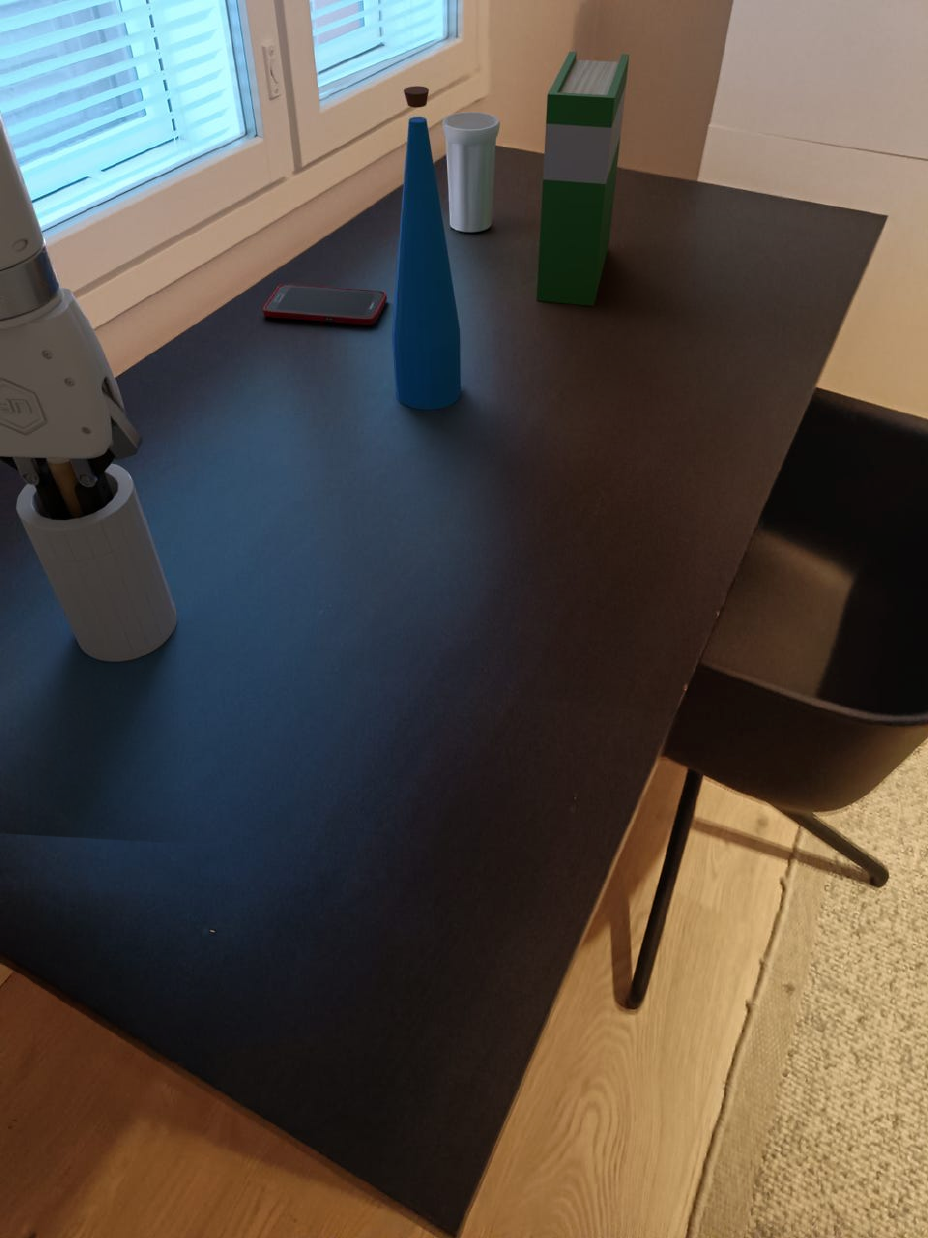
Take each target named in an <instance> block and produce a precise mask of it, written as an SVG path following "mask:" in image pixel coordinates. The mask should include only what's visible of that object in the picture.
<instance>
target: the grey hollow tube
mask: <svg viewBox="0 0 928 1238" xmlns="http://www.w3.org/2000/svg"><path fill="white" fill-rule="evenodd" d="M105 474H106V477H107V480H108V483H109V485H110V488H111V491H112V494H113V496H114V499H113V500H112V501H111V502H110V503H109V504H108V505H106V506H105V507H104V508H102V509H101V510H99V511H97V512H95V513H93V514H90V515H87V516H85V517H82V518H77V519H71V520H52V519H51V518H50V515H49V513H48V512H47V511H46V510H45V508H44V506H43V504H42V501H41V499H40V497H39V495H38V492H37V490H36V488H35V485H30V484H27V483H26V484H25V486H24V487H23V489H22V490H21V491H20V493H19V495H18V496H17V498H16V505H15V510H16V512H17V514H18V517H19V519H20V521H21V523H22V525H23V528H24V530H25V532H26V534H27V536H28V538H29V541H30V543H31V545H32V547H33V549H34V552H35V553H36V555H37V558H38V560H39V562H40V564H41V567H42V569H43V571H44V573H45V575H46V578H47V579H48V581H49V584H50V586H51V588H52V591H53V592H54V594H55V597H56V599H57V600H58V603H59V605H60V608H61V609H62V611H63V613H64V616H65V618H66V620H67V622H68V624H69V626H70V629H71V631H72V633H73V635H74V637H75V640H76V641H77V644H78V646H79V647H80V649H81V650H82V651H83V652H84V653H85V654H86V655H87V656H89V657H91V658H93V659H95V660H98V661H103V662H111V663H116V662H117V663H119V662H126V661H127V662H128V661H131V660H135V659H139V658H141V657H144V656H146V655H148V654H150V653H152V652H153V651H156V650H157V649H158V648H160V647H162V645H163V644H164V643H166V641H167V640H169V638H170V637H171V636H172V634H173V633H174V631H175V629H176V626H177V622H178V613H177V609H176V605H175V601H174V598H173V595H172V593H171V590H170V587H169V584H168V581H167V578H166V575H165V572H164V569H163V566H162V562H161V560H160V557H159V554H158V551H157V548H156V545H155V542H154V540H153V539H154V538H153V536H152V533H151V530H150V528H149V523H148V522H147V518H146V515H145V513H144V509H143V506H142V504H141V500H140V497H139V494H138V491H137V489H136V486H135V483H134V479H133V478H132V477H131V474H130V473H129V472H128V470H126V469H124V468H123V467H122V466H120V465H118V464H115V463H113V462H112V463H111V465H110V466H109V467H108V468H107V469H106V471H105Z"/></svg>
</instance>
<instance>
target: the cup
mask: <svg viewBox="0 0 928 1238" xmlns="http://www.w3.org/2000/svg"><path fill="white" fill-rule="evenodd" d="M440 125H441V132H442V134H443V138H444V139H445V152H446V153H445V154H446V165H447V166H446V168H447V186H448V187H447V189H448V190H447V191H448V210H449V213H448V214H449V225H450V228H451V229H454V230H455V231H457V232H462V233H479V232H483V231H486V230H488V229H489V228H491V226H492V224H493V221H492V218H493V203H494V202H493V199H494V183H495V180H494V179H495V178H494V177H495V164H496V163H495V162H496V161H495V160H496V146H497V145H496V144H497V137H498V135H499V132H500V126H501V122H500V119H498V117H497V116H495V115H492V114H490V113H486V112H480V111H464V112H457V113H452V114H449V115H447V116H445V117H444V118H443V120H441V123H440Z"/></svg>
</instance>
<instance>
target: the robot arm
mask: <svg viewBox="0 0 928 1238" xmlns="http://www.w3.org/2000/svg"><path fill="white" fill-rule="evenodd" d="M11 141H12V140H11V138H10V135H9V133H8V129H7V127H6V123H5V121H4V117H3V115H2V112H1V111H0V461H2V462H3V463H4V464H6V465H8V466H9V467H11V468H12V469H14V470H16V471H17V472H19V475H20V477H21V479H22V480H23V482H24V483H25V484H26V485H27V484H30V485H35V488H36V490H37V492H38V495H39V497H40V499H41V501H42V504H43V506H44V508H45V510H46V511H47V512H48V513H49V515H50V518H51V519H52V520H71V518H70V516H69V513H68V511H67V509H66V506H65V504H64V501H63V499H62V497H61V494H60V492H59V489H58V487H57V485H56V482H55V480H54V477H53V475H52V473H51V470H50V468H49V465H48V463H47V460H46V459H47V458H65V459H70V461H71V464H72V466H73V469H74V471H75V474H76V476H77V479H78V483H77V485H76V486H75V494H76V496H77V499H78V501H79V504H80V506H81V509H82V511H83V513H84V516H87V515H90V514H93V513H95V512H97V511H99V510H101V509H102V508H104V507H105V506H106V505H108V504H109V503H110V502H111V501H112V500H113V499H114V496H113V494H112V491H111V488H110V485H109V483H108V480H107V477H106V474H105V471H106V469H107V468H108V467H109V466H110V465H111V463H112V464H113V462H116V461H121V460H124V459H127V458H129V457H132V456H134V455H136V454H138V452H139V451H140V448H141V446H142V445H143V443H144V438H143V436H142V435H141V434H140V432H139V431H138V430H137V429H136V427H135V426H134V425H133V424H132V422H131V421H130V420H129V419H128V417H127V416H126V409H125V406H124V401H123V399H122V395H121V392H120V388H119V386H118V384H117V381H116V378H115V375H114V372H113V370H112V368H111V365H110V362H109V361H108V358H107V355H106V353H105V351H104V349H103V347H102V345H101V342H100V340H99V338H98V336H97V334H96V332H95V329H94V328H93V326H92V324H91V322H90V320H89V319H88V317H87V314H86V313H85V311H84V310H83V307H82V306H81V305H80V303H79V301H78V300H77V298H76V296H75V295H74V293H73V291H72V290H71V289H69V288H65V287H64V288H63V287H62V286H61V283H60V280H59V277H58V275H57V272H56V268H55V266H54V262H53V260H52V257H51V254H50V251H49V248H48V245H47V243H46V239H45V237H44V234H43V231H42V228H41V226H40V223H39V219H38V217H37V213H36V211H35V208H34V205H33V201H32V198H31V195H30V193H29V190H28V188H27V184H26V182H25V179H24V176H23V174H22V173H23V172H22V170H21V167H20V164H19V161H18V158H17V155H16V153H15V150H14V147H13V144H12V142H11Z"/></svg>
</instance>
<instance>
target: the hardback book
mask: <svg viewBox="0 0 928 1238" xmlns="http://www.w3.org/2000/svg"><path fill="white" fill-rule="evenodd" d="M577 55H578V52H577V51H569V52H568V54H567V55H566V57H565V60H564V62H563V63H562V65H561V66H560V69H559V71H558V72H557V74H556V77H555V79H554V81H553V83H552V84H551V87H550V88H549V90H548V92H547V97H546V118H545V134H544V135H545V136H544V152H543V153H544V154H543V155H544V156H543V173H542V193H541V194H542V195H541V208H540V209H541V212H540V228H539V230H540V231H539V249H538V264H537V265H538V266H537V284H536V301H537V302H539V301H540V302H549V303H560V304H569V305H579V306H590V307H591V306H592V307H593V306H595V305H594V304H595V302H596V297H597V294H598V290H599V286H600V282H601V278H602V275H603V271H604V267H605V263H606V259H607V256H608V251H609V246H610V238H611V237H610V235H611V228H612V219H613V209H614V200H615V191H616V183H617V182H616V180H617V174H618V173H617V171H618V165H619V164H618V162H619V154H620V153H619V152H620V144H621V136H622V135H621V134H622V127H623V126H622V125H623V116H624V108H625V107H624V106H625V99H626V89H627V80H628V71H629V61H630V54H625V53H624V54H623V53H622V54H621V55H620V58H619V61H614V60H613V61H611V60H595V59H593V60H591V59H577Z"/></svg>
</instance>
